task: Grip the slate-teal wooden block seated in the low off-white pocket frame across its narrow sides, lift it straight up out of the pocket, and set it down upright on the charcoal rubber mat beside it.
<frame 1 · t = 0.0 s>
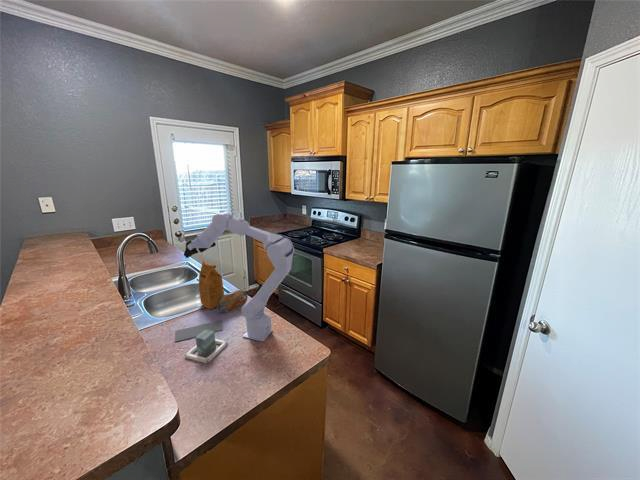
hand: (193, 253, 108), 32 cm above the countertop, tool tilted 50°, fingers open, 7 cm apart
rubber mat: (199, 330, 110), on the countertop
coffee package: (212, 303, 133), on the countertop
block: (206, 342, 97), in the pocket frame
pocket frame: (207, 350, 98), on the countertop
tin: (233, 308, 128), on the countertop
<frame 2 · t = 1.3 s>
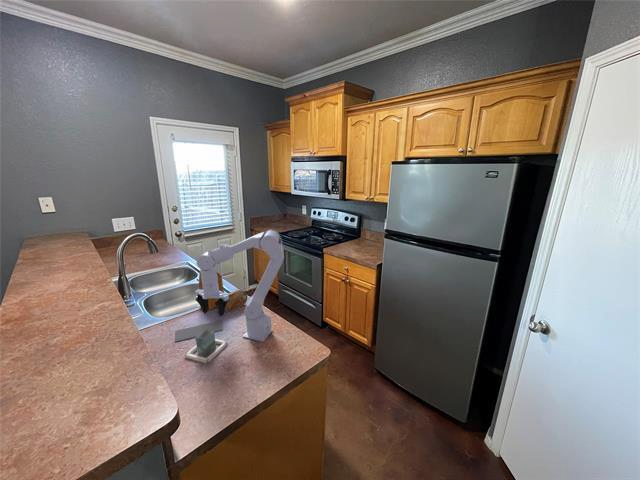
hand: (214, 313, 104), 10 cm above the countertop, tool pointing down, fingers open, 7 cm apart
nothing on the countertop moved.
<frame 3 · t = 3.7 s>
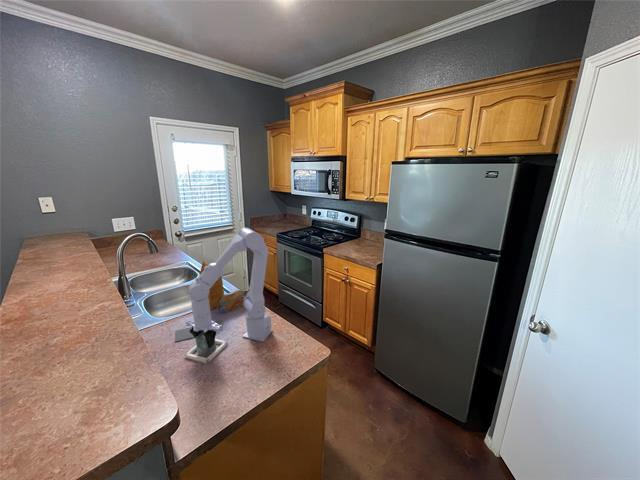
hand: (206, 345, 97), 2 cm above the countertop, tool pointing down, fingers closed on block, 4 cm apart
block: (205, 342, 97), in the pocket frame, touching gripper
everything else where it was.
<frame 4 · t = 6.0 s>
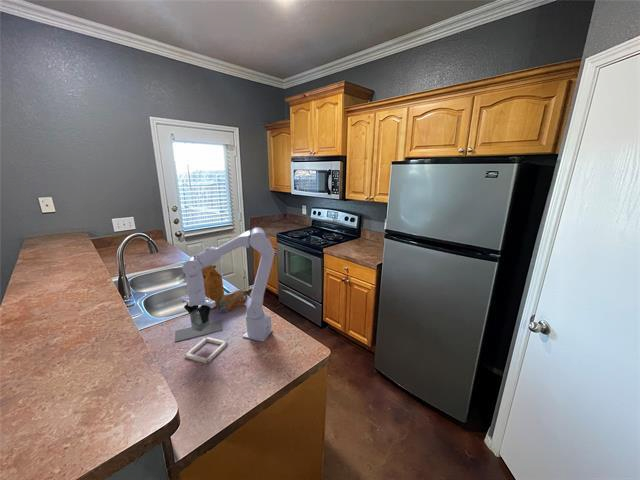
hand: (200, 321, 100), 9 cm above the countertop, tool pointing down, fingers closed on block, 4 cm apart
block: (200, 318, 100), point 10 cm above the countertop, touching gripper
everything else where it was.
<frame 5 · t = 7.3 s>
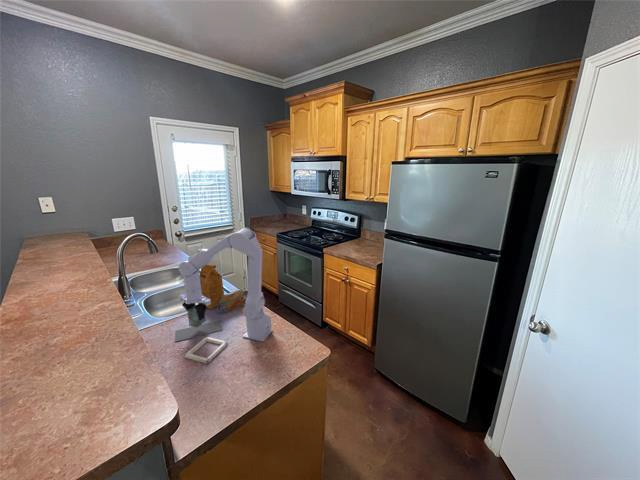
hand: (197, 317, 108), 6 cm above the countertop, tool pointing down, fingers closed on block, 4 cm apart
block: (196, 315, 108), point 7 cm above the countertop, touching gripper
everything else where it was.
when the fingers open (4 cm above the countertop, at t = 8.5 s): block stays where it is, resting on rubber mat.
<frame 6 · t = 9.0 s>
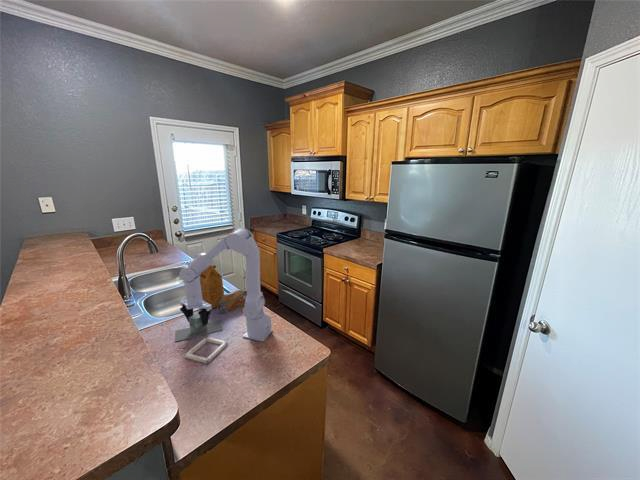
hand: (198, 322, 109), 4 cm above the countertop, tool pointing down, fingers open, 7 cm apart
block: (198, 322, 109), on the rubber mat
everything else where it was.
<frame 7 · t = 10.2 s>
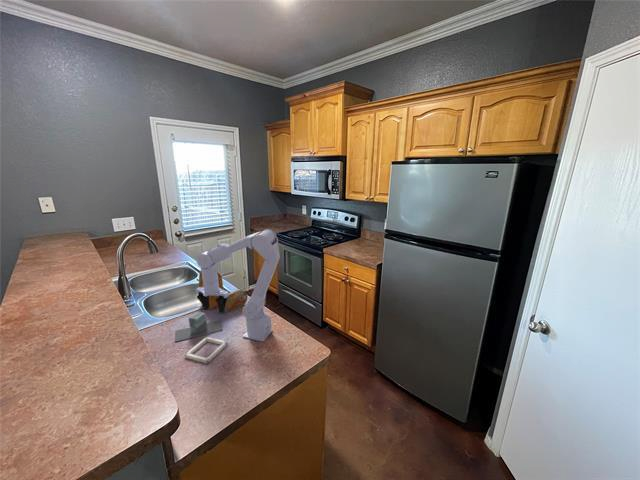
hand: (214, 310, 108), 9 cm above the countertop, tool pointing down, fingers open, 7 cm apart
nothing on the countertop moved.
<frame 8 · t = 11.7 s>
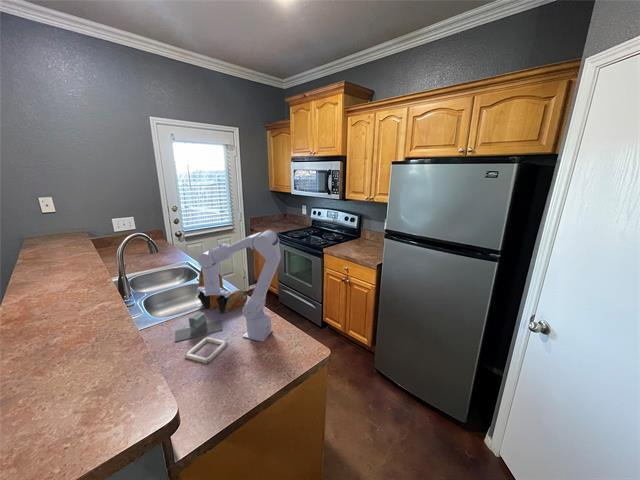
hand: (215, 310, 108), 9 cm above the countertop, tool pointing down, fingers open, 7 cm apart
nothing on the countertop moved.
at the end: block inside the target area on the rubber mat (0.1 cm from its centre), point 3.9 cm above the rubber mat's base; block tilted 0°; the gripper is holding nothing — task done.
